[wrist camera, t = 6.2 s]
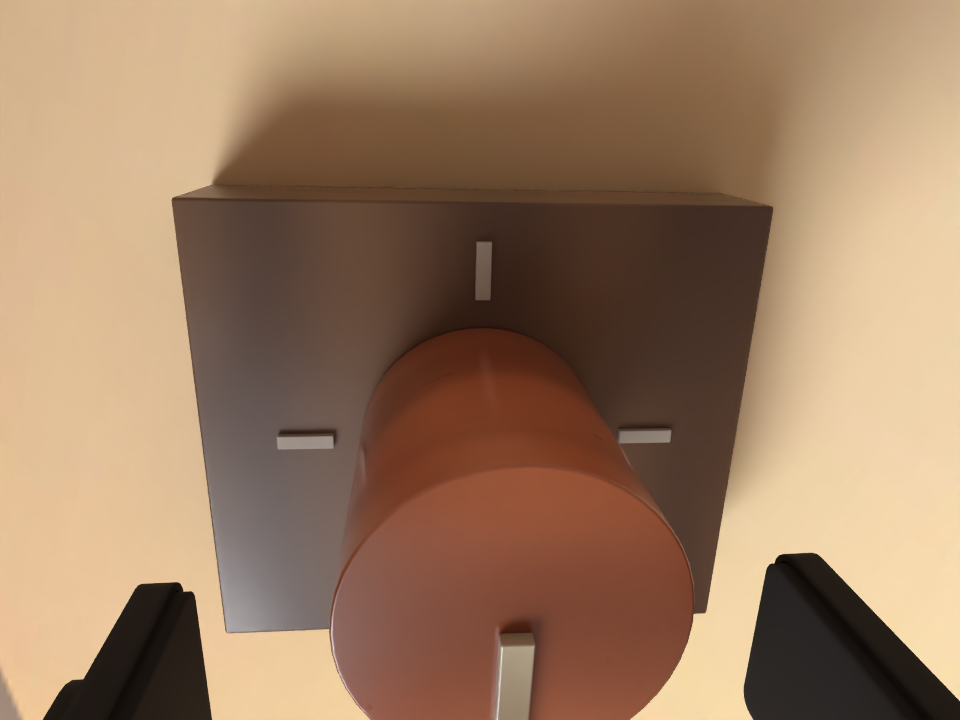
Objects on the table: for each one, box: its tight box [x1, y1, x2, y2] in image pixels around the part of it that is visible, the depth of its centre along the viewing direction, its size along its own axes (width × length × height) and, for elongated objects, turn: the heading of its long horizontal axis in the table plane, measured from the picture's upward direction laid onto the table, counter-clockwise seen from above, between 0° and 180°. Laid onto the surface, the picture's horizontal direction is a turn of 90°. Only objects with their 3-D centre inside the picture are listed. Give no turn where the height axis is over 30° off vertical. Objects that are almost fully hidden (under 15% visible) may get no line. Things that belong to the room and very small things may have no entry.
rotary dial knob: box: [329, 328, 695, 720], centre depth 14 cm, size 6×6×7 cm
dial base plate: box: [172, 185, 773, 633], centre depth 19 cm, size 14×12×3 cm
